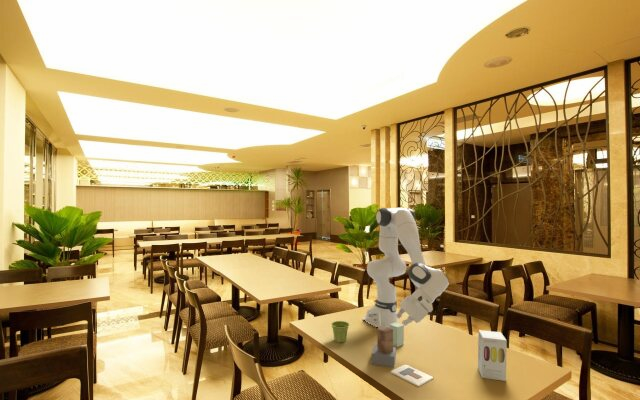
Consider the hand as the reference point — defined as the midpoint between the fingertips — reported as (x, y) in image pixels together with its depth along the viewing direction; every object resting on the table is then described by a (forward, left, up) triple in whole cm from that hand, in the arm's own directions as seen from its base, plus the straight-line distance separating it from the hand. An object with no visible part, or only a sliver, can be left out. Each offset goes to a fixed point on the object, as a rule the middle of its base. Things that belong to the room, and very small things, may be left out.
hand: (400, 320), depth 154 cm
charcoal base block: (-4, -6, -19) cm, 20 cm away
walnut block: (-4, -6, -13) cm, 15 cm away
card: (+12, -7, -18) cm, 23 cm away
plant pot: (-33, -7, -18) cm, 39 cm away
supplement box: (+32, +21, -18) cm, 42 cm away
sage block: (-12, +13, -18) cm, 25 cm away
